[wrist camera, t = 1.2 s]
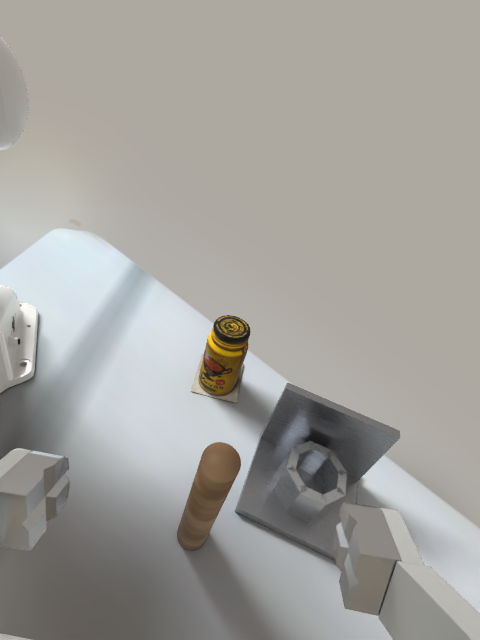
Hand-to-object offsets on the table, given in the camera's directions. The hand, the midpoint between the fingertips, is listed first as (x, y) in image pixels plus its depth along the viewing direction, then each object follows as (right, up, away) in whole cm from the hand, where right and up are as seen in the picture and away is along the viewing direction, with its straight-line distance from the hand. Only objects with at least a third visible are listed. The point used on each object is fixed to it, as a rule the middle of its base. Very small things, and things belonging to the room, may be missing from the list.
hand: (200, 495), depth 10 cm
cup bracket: (+9, -17, +33) cm, 38 cm away
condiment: (-2, -4, +45) cm, 45 cm away
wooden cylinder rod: (-4, -18, +27) cm, 33 cm away
